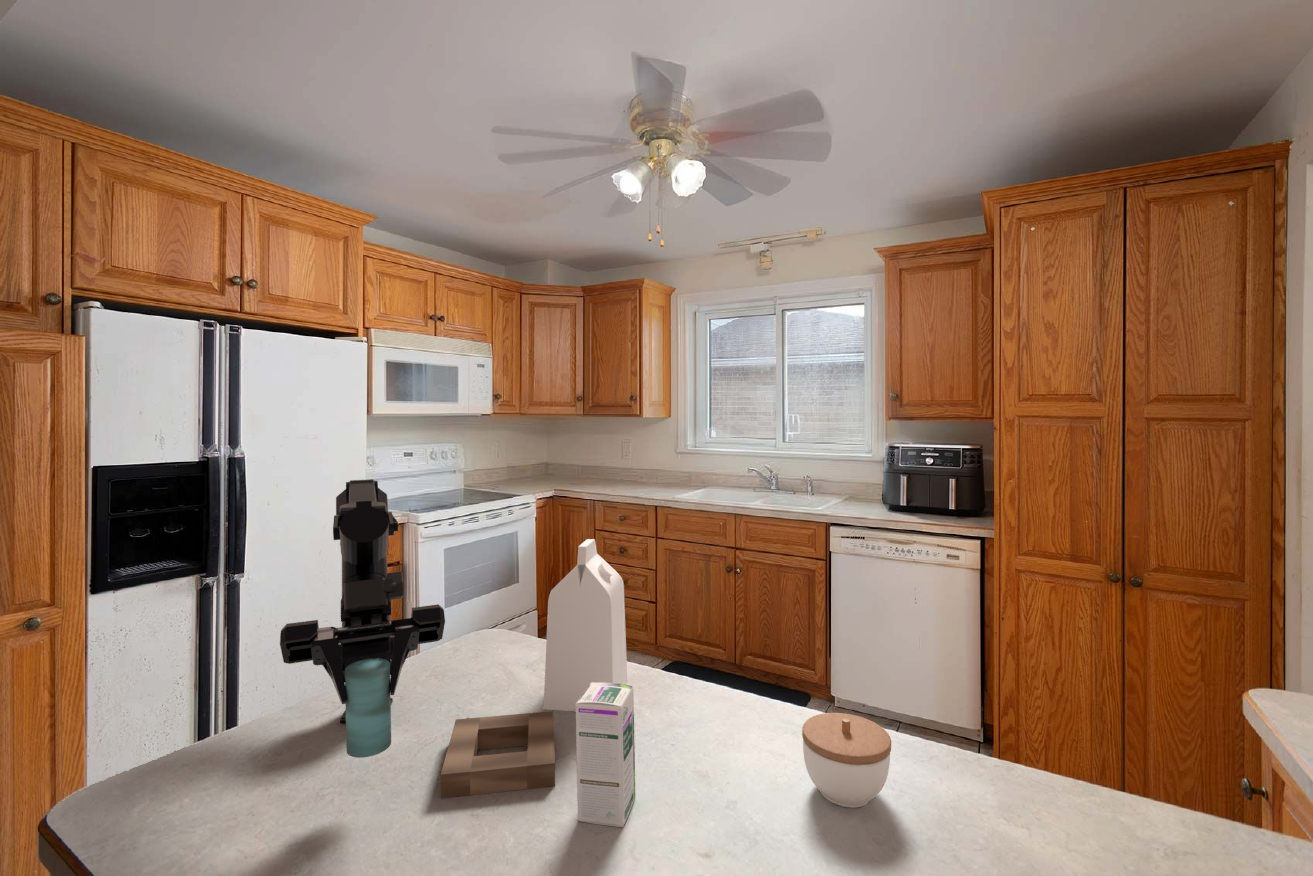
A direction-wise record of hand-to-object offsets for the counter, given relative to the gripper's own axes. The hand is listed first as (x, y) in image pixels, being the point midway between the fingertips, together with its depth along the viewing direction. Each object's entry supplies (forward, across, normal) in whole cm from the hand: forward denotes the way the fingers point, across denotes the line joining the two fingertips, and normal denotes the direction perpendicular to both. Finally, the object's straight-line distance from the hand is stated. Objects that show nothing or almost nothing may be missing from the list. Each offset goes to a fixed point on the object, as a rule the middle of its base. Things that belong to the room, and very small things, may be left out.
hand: (368, 698), depth 75 cm
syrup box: (+19, +26, 0) cm, 32 cm away
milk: (-2, +34, +22) cm, 40 cm away
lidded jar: (+26, +54, -6) cm, 60 cm away
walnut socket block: (+7, +16, +12) cm, 22 cm away
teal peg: (+4, 0, +6) cm, 7 cm away
